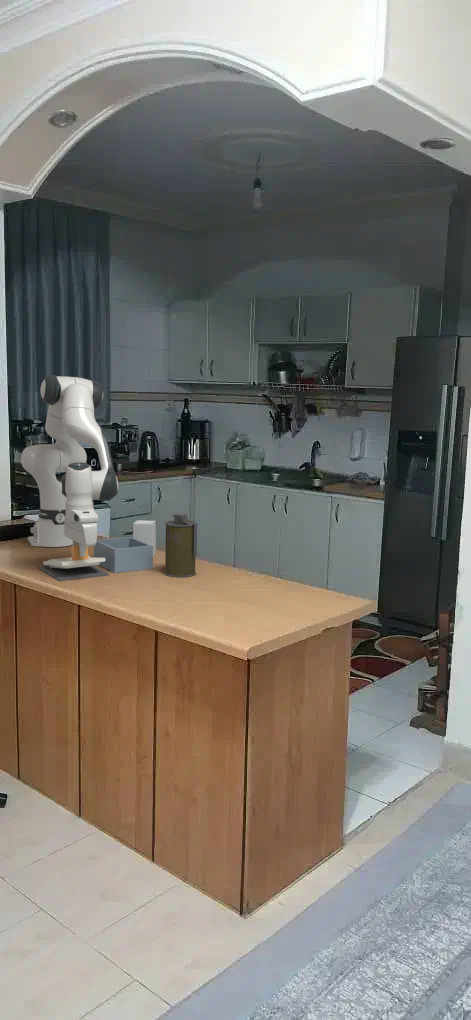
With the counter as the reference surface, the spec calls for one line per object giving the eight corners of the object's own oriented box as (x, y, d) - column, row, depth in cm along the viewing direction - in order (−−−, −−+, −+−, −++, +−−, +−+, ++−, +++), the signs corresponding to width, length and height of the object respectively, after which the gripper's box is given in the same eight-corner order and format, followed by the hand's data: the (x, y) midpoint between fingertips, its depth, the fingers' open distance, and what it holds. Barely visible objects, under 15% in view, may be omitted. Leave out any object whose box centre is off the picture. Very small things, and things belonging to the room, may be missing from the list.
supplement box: (156, 553, 295) (156, 520, 293) (152, 557, 288) (152, 523, 286) (136, 553, 296) (137, 519, 294) (132, 557, 289) (132, 522, 287)
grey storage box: (94, 562, 278) (94, 540, 277) (130, 558, 286) (130, 536, 284) (114, 573, 263) (114, 549, 262) (152, 568, 271) (152, 545, 269)
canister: (158, 574, 262) (159, 515, 259) (175, 568, 271) (175, 511, 268) (186, 579, 257) (187, 518, 254) (202, 572, 266) (203, 514, 263)
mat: (38, 568, 268) (38, 566, 268) (86, 563, 277) (86, 561, 277) (59, 580, 251) (58, 579, 251) (108, 575, 260) (108, 573, 260)
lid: (43, 567, 267) (42, 548, 267) (84, 563, 275) (83, 544, 275) (62, 568, 251) (61, 547, 251) (105, 564, 259) (104, 543, 259)
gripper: (58, 509, 263) (59, 550, 265) (81, 518, 246) (82, 562, 248) (77, 508, 266) (77, 548, 268) (100, 517, 249) (100, 560, 251)
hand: (79, 555), depth 258 cm, fingers closed on lid, 2 cm apart
